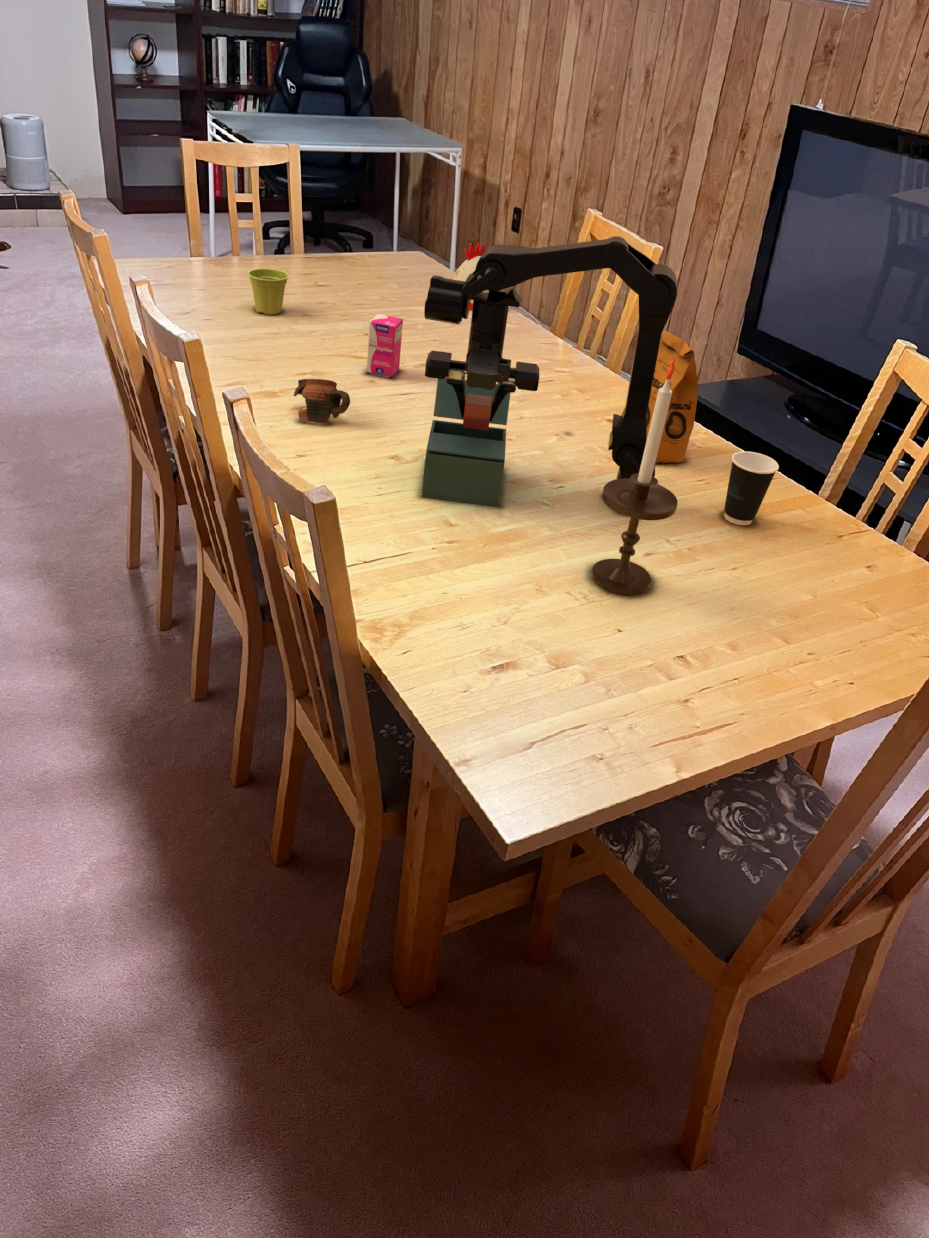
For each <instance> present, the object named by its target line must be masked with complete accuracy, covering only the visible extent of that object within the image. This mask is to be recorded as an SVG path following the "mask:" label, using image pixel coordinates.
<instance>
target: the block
mask: <svg viewBox="0 0 929 1238" xmlns="http://www.w3.org/2000/svg"><path fill="white" fill-rule="evenodd" d="M491 407H492V397H489V396H481V395H473V394H467V396H466V402H465V411H464V419H463V420H462V423H463V428H470V429H477V430H485V431H488V429H489V427H490V423H489V422H490V414H491Z"/></svg>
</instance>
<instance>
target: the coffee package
mask: <svg viewBox="0 0 929 1238" xmlns="http://www.w3.org/2000/svg"><path fill="white" fill-rule="evenodd" d="M675 357H676V360H675V363H674V365H675V370H674V373H673V375H672V377H671V379H670V380H669V379H666V375H667V373H668V369H670V362H671V361H673V360H674V358H675ZM696 363H697V362H696V356H695V350H694V349H693V348H691V347H690V345H688V344H687V342H686V341H685V340H683V339H682V338H680V337H678V336H676V335H675V334H673V333H671V332H669V331H667V330H663V332H662V335H661V340H660V346H659V351H658V356H657V362H656V367H655V373H654V378H653V383H652V389H651V394H650V399H649V405H648V410H647V437H648V433H649V429H650V424H651V420H652V416H653V412H654V407H655V403H656V399H657V395H658V390H659V388H662V387H663V386H664V384H665V382H666V380H669V381H670V390H672V396H671V400H670V404H669V408H668V412H667V416H666V420H665V424H664V428H663V433H662V437H661V441H660V445H659V449H658V453H657V457H656V461H655V464H657V463H663V464H666V463H673V464H674V463H675V464H678V463H683V462H685V459H686V458H685V457H686V454H687V450H688V447H689V441H690V438H691V435H692V432H693V430H694V428H695V427H694V426H695V419H696V412H697V406H698V405H697V403H698V398H699V378H698V373H697V364H696Z"/></svg>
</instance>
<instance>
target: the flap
mask: <svg viewBox="0 0 929 1238" xmlns="http://www.w3.org/2000/svg"><path fill="white" fill-rule="evenodd" d="M446 379H447V377H446V378H445V379H437V383H436V392H435V400H434V401H435V402H434V406H433V407H434V408H433V417H435V418H436V417H438V418H444V419H451V420H460V421H463V419H464V418H462V417H461V412H460V407H459V403H458V398H457V395H456V392H455V390H454V388H453V386H452V385H449V384H447V383H446ZM466 380H467V379H465V402H466V396H467V394H473V395H481V396H489V397H492V402H493V398H494V394H495V391H496V388H495V389H493V390H487V389H485V388H478V387H475V388H471V387H469V386H467V384H466ZM496 387H497V383H496ZM510 400H511V393H508V394H507V395H506V396H505V398H504V399H503V400H502V402H501V404H500V406H499V407H498V409H497V411H496V413H495V415H494V417H493V419H492V421H490V422H489V424H491V425H492V424H493V425H499V426H507V424H508V417H509V408H510Z"/></svg>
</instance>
